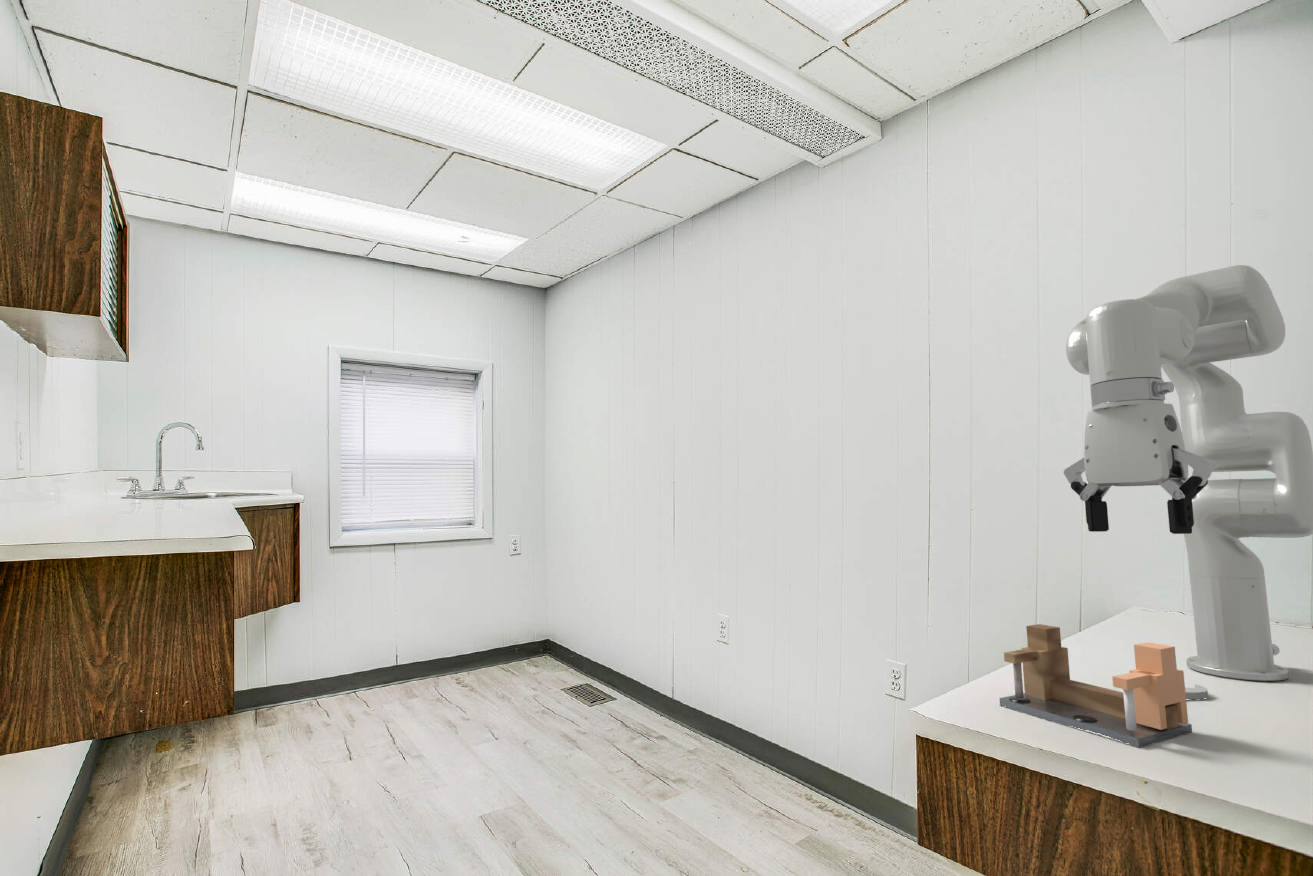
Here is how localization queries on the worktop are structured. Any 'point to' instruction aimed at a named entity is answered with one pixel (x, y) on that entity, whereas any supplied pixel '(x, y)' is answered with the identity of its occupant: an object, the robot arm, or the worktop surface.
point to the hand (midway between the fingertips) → (1137, 532)
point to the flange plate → (1092, 720)
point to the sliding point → (1152, 687)
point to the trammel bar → (1063, 676)
